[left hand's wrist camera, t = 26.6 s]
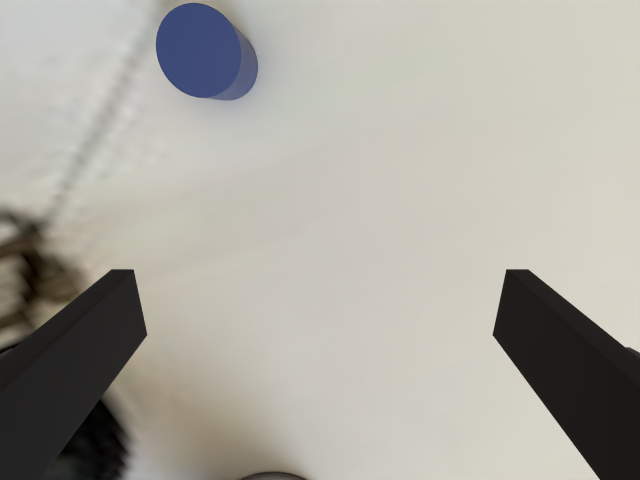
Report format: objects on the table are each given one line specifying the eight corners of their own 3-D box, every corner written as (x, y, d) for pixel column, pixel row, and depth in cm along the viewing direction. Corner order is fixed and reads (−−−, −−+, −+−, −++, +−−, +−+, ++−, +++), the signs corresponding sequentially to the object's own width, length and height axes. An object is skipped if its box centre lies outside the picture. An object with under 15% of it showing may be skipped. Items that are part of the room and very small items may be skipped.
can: (193, 21, 31) (156, -6, 24) (261, 34, 31) (245, 12, 24) (190, 94, 33) (155, 89, 26) (254, 105, 33) (237, 104, 26)
